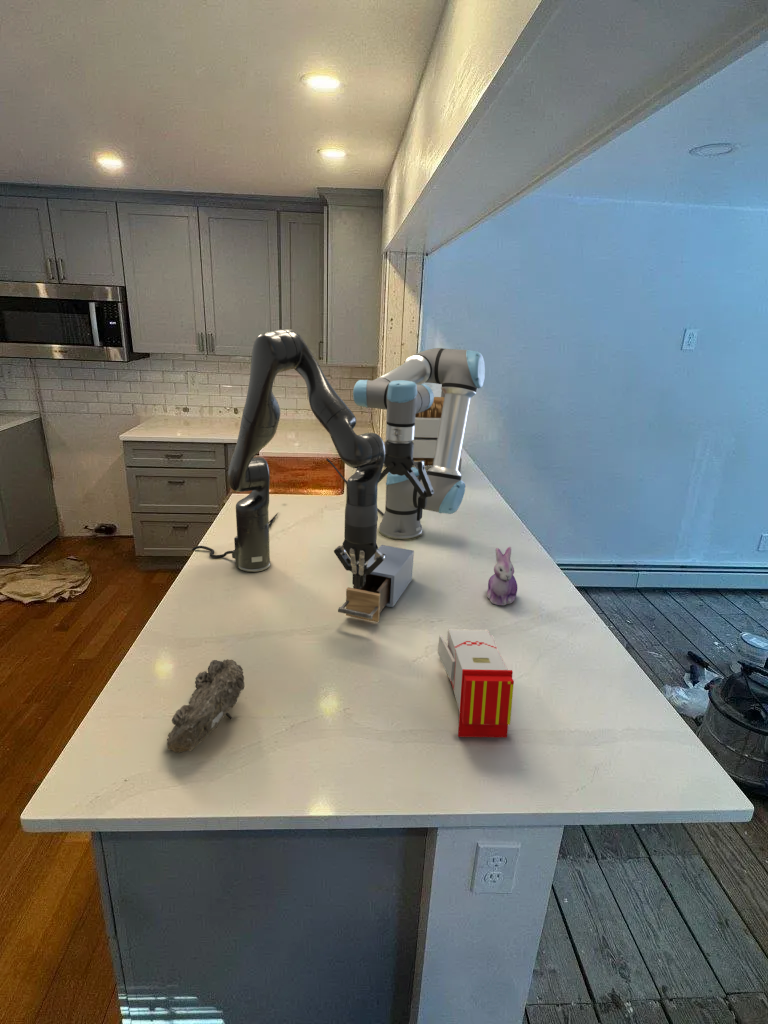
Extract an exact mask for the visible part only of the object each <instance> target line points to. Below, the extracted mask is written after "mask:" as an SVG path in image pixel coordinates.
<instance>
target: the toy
mask: <svg viewBox="0 0 768 1024" xmlns="http://www.w3.org/2000/svg"><path fill="white" fill-rule="evenodd" d="M446 640H447V643H446V641H445V639H444V636H443V635H442V634H439V637H438V646H437V656H438V657H439V659H440V661H441V663H442V666H443V668H444V670H445V672H446V674H447V677H448V679H449V681H450V684H451V687H452V690H453V693H454V697H455V701H456V705H457V708H458V711H459V714H458V715H459V716H458V730H457V731H458V732H457V737H458V738H508V731H509V726H510V725H511V717H512V707H513V697H514V696H513V695H514V684H515V680H514V679H513V673H514V671H513V670H512V669H508V667H507V665H506V662H505V661H504V659H503V658H502V655H501V653H500V651H499V649H498V647H497V643H496V639H495V637H494V635H493V634H491V632H490V631H489V629H467V628H466V629H465V628H463V629H461V628H460V629H459V628H448V630H447V639H446Z"/></svg>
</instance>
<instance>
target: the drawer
mask: <svg viewBox="0 0 768 1024" xmlns="http://www.w3.org/2000/svg"><path fill="white" fill-rule="evenodd" d="M345 591H346V593H345V596H346V597H345V602H344V603H343V604H342V606H340V607H338V608H337V612H338V613H341V614H343V615H344V614H345V616H348V617H352V618H355V619H360V620H365V621H368V622H369V621H371V622H374V623H379V621H380V617H381V616H380V614H381V613H382V611H383V610H384V609H385V607H387V606H386V604H387V603H388V601H389V600H390V592H391V578H388V577H383V576H378V575H373V574H369V575H368V574H366V582H365V585H364V586H363V587H362V588H361V589H358V588H355V587H354V585H352V587H349V586H348V587H347V588H346V589H345Z"/></svg>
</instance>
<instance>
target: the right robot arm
mask: <svg viewBox="0 0 768 1024" xmlns="http://www.w3.org/2000/svg"><path fill="white" fill-rule="evenodd" d="M485 365H486V363H485V359H484V357H483V354H482V353H481V352H479V351H477V350H470V349H457V348H442V347H435V348H429V349H426V350H425V349H424V350H421V351H420V352H417V353H414V354H413V355H410V356H409V357H407V358H406V360H404V362H403V364H400V365H399V366H397V367H395V368H393V369H391V370H390V371H388V372H386V373H384V374H382V375H380V376H379V377H377V378H374V379H372V380H369V379H358V380H357V381H356V383H355V384H354V386H353V390H352V396H353V397H352V398H353V401H354V402H353V403H354V404H355V405H356V406H358V407H363V408H366V409H376V410H377V409H378V410H385V411H386V412H387V423H386V424H385V426H386V427H385V438H386V439H387V441H385V442H386V444H385V460H384V464H385V466H384V467H385V468H384V469H382V471H381V475H380V478H379V481H378V484H379V483H380V482H381V481H382V480H383V479H384V478H385V477H386V482H385V504H384V505H385V507H384V508H385V509H384V512H382V510H380V509H379V508H378V507H377V510H378V513H379V514H380V515H381V516H382V519H381V522H379V526H378V533H379V534H380V535H381V536H382V537H385V538H387V539H389V540H395V541H410V540H415V539H418V538H420V537H421V536H422V535H423V525H422V524H421V519H422V518H423V510H424V511H430V512H435V513H439V514H446V515H452V514H455V513H456V512H457V511H458V510H459V508H460V506H461V505H462V502H463V499H464V496H465V492H466V483H465V482H464V480H462V477H463V476H462V473H461V474H460V472H459V471H458V467H459V461H460V455H461V456H462V453H461V449H462V450H463V445H464V444H463V443H464V437H465V431H466V427H467V421H468V414H469V409H470V403H471V399H472V398H473V397H475V395H477V389H481V388H483V386H484V384H485V377H486V366H485ZM427 384H436V385H441V387H440V389H441V392H442V391H443V392H444V394H445V397H444V402H443V408H442V414H441V420H440V426H439V432H438V438H437V443H436V449H435V455H434V461H433V466H432V465H431V466H430V467H429V468H428V469H427V470H426V468H425V467H426V466H424V460H421V461H414V460H413V447H414V443H413V442H412V441H413V440H414V430H415V414H417V413H421V412H424V411H425V410H427V409H428V408H430V407H431V405H432V403H433V401H434V397H435V395H434V392H433V390H432V388H431V387H429V386H428V385H427ZM325 459H326V462H328V463H329V464H330V465H331V466H332V467H333V469H334V470H335V472H337V473H338V475H339V476H340V477H341V479H342V480H343V481H344V483H345V484H346V485H347V481H348V480H346V478H345V477H344V475H342V473H341V471H340V470H339V469H338V468H337V467H336V466H335V464H334V463H333V462H332V461H331V460H330V458H325ZM384 464H383V465H384ZM413 465H414V466H413Z"/></svg>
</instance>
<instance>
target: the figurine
mask: <svg viewBox="0 0 768 1024" xmlns="http://www.w3.org/2000/svg"><path fill="white" fill-rule="evenodd" d="M511 557H512V547H511V546H509V547H507V548H506V550H505V552H504V553H503V552H502V551H501V549H500V548H499V547H496V548H495V560H496V561H495V565H494V567H493V572H494V573H493V574H492V575H491V576H490V577H489V578H488V581H487V582H488V583H487V592H486V596H487V598H488V600H489V601H490V603H491V604H493V605H496V606H506V605H508V604H512V603H513V602H514V601H515V600H516V596H517V593H518V583H517V579H516V578H515V575H514V573H515V567H514V565H513V563H512V560H511Z"/></svg>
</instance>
